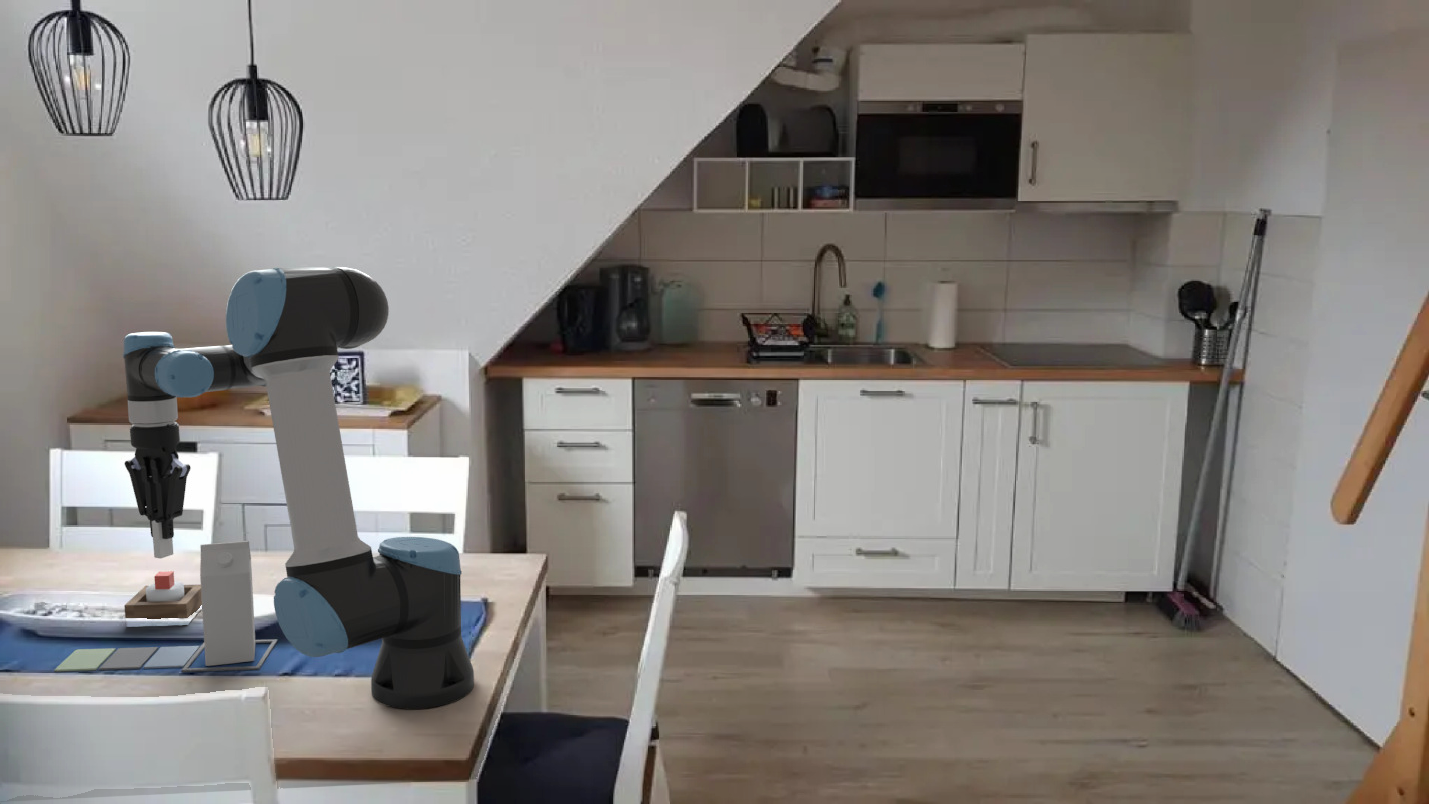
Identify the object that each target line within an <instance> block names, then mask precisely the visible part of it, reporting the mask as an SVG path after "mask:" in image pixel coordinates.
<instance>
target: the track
mask: <svg viewBox="0 0 1429 804" xmlns="http://www.w3.org/2000/svg"><path fill="white" fill-rule="evenodd" d="M277 642H278V639H255V644H263V643H264V644H268V643H269V646H268V648H267V649H266V651H265V652H264V653H263V655H262V657H261V658H260V660H259V661H258V663H257V665H251V666H249V665H248V666H246V665H245V666H224V667H223V666H219V667H217V666H216V667H193V668H191V666H192V664H193V663H194V662H195V660H196V659H197V658H198V657H199V656H200V654H201V653H202V652H203V650H205V646H204V642H203V643H201V645H179V646H176V645H175V646H160V647H158V646H152V647H151V646H150V647H149V646H148V647H120V648H117V649H116V648H115V647H114V648H113V647H111V648H84V649H83V648H82V649H75V650H74V651H73V652H72V653H70V655H69V656H67V658H65V659H64V660H63V661H62V662H61V663H60V664H59V665H58V666H56V667H55V669H54V672H77V671H78V672H79V671H80V672H81V671H82V672H83V671H97V669H98V671H108V670H109V671H111V670H139V669H141V668H143V669H169V668H170V669H173V668H176V669H177V668H181V673H186V672H188V673H189V672H190V673H191V672H192V673H193V672H215V671H216V672H219V671H224V672H225V671H245V670H246V671H247V670H249V671H250V670H252V671H253V670H254V671H255V670H260V669H261V668H262V667H263V664H264V663H265V662H266V660H267V658H268V657H269V655H270V653H271V652H272V650H273V649H274V647H275V646H276V644H277Z"/></svg>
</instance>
